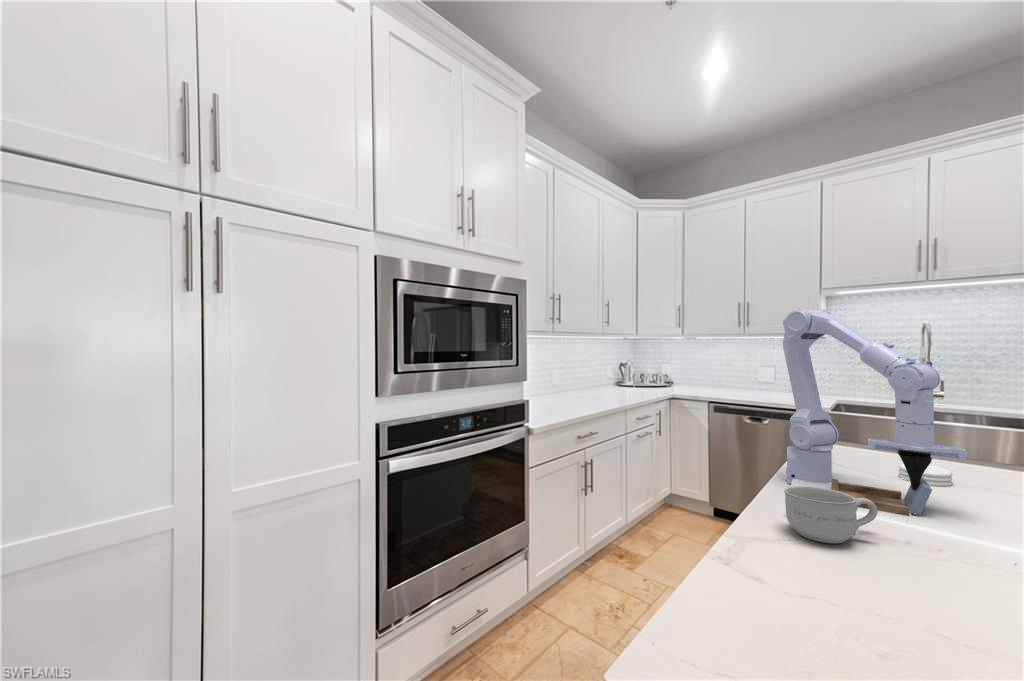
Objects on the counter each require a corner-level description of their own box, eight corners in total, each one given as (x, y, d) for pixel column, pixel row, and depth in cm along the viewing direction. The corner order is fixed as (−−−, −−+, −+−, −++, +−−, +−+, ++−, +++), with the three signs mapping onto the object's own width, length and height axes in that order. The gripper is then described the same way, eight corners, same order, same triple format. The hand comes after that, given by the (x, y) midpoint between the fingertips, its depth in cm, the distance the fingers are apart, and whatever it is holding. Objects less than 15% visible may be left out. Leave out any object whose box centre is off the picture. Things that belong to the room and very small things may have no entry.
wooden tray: (832, 509, 90) (832, 492, 90) (831, 493, 100) (831, 478, 100) (909, 523, 83) (909, 505, 83) (900, 505, 92) (900, 489, 92)
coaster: (902, 473, 117) (902, 460, 117) (954, 482, 109) (954, 468, 109) (895, 480, 110) (895, 467, 110) (950, 490, 103) (950, 476, 103)
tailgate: (910, 516, 83) (924, 487, 82) (902, 500, 92) (915, 473, 91) (918, 519, 83) (932, 490, 81) (909, 503, 91) (922, 476, 90)
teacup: (787, 542, 75) (787, 496, 75) (781, 519, 85) (781, 479, 85) (889, 560, 69) (889, 511, 69) (870, 534, 78) (870, 490, 78)
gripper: (869, 421, 88) (870, 486, 88) (970, 429, 79) (971, 502, 79) (867, 416, 94) (867, 478, 93) (961, 424, 85) (961, 492, 85)
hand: (914, 489), depth 87 cm, fingers closed, pressing on tailgate
